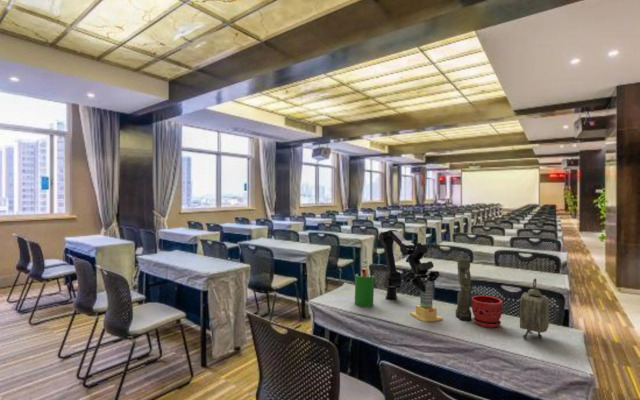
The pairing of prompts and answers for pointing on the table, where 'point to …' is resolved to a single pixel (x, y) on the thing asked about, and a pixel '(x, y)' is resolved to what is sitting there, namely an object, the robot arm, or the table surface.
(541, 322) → the tabletop clock
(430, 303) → the column
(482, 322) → the plant pot
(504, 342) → the table surface
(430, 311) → the stand base
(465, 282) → the mechanical leg
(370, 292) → the green pencil holder
